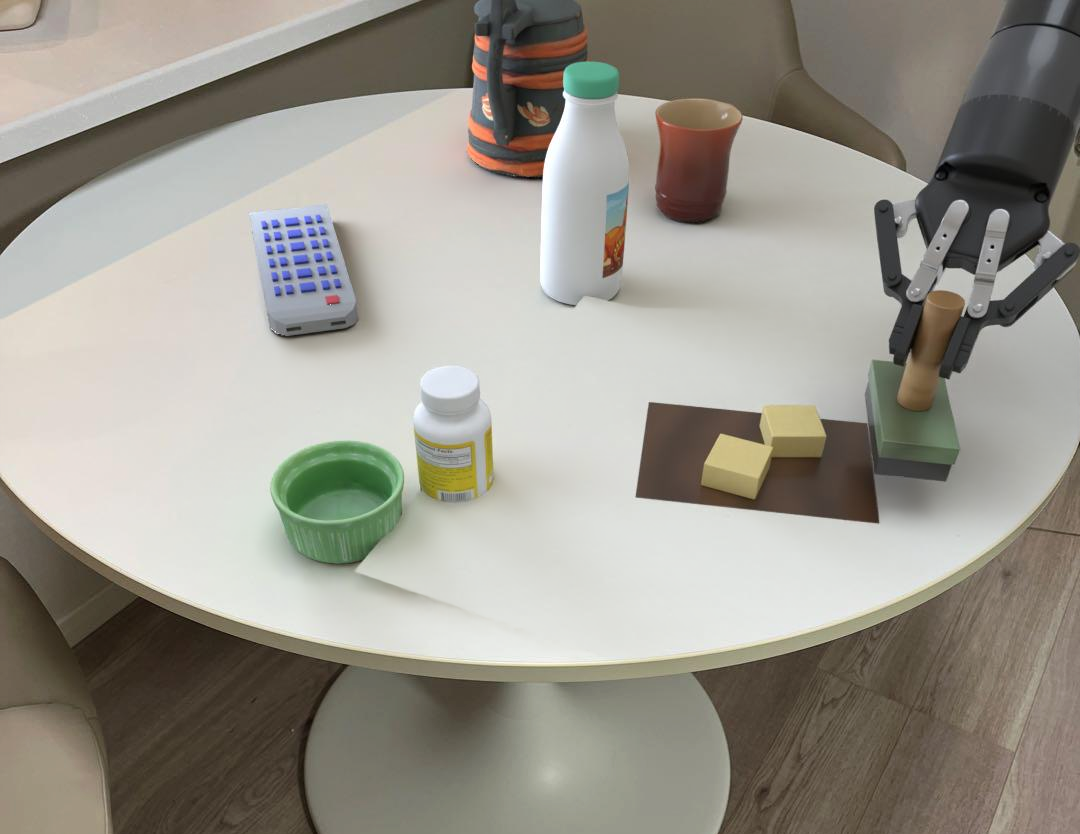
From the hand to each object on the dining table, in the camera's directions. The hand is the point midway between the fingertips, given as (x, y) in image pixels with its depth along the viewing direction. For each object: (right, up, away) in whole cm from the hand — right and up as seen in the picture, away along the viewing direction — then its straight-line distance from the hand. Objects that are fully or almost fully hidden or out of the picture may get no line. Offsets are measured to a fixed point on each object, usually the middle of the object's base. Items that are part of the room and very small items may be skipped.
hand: (922, 368), depth 69 cm
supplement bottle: (-31, -8, +8) cm, 33 cm away
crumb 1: (-11, -7, +7) cm, 15 cm away
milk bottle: (-21, +13, +31) cm, 40 cm away
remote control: (-48, +14, +33) cm, 60 cm away
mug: (-8, +25, +45) cm, 52 cm away
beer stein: (-27, +32, +53) cm, 67 cm away
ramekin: (-39, -11, +5) cm, 41 cm away
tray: (-9, -6, +10) cm, 15 cm away
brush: (+1, -4, +6) cm, 7 cm away
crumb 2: (-6, -4, +11) cm, 13 cm away
